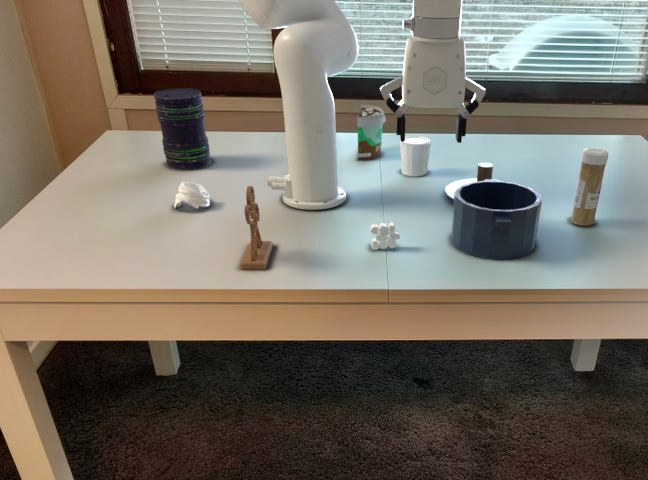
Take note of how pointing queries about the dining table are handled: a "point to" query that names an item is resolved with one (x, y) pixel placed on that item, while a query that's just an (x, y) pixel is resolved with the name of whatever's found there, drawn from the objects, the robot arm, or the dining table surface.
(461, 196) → the pot
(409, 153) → the white cup
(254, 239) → the brown upright openwork piece
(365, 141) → the food container
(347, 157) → the dining table surface
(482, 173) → the pot lid
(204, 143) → the storage jar
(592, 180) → the sprinkles bottle
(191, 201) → the whipped cream
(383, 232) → the white marshmallow cluster
